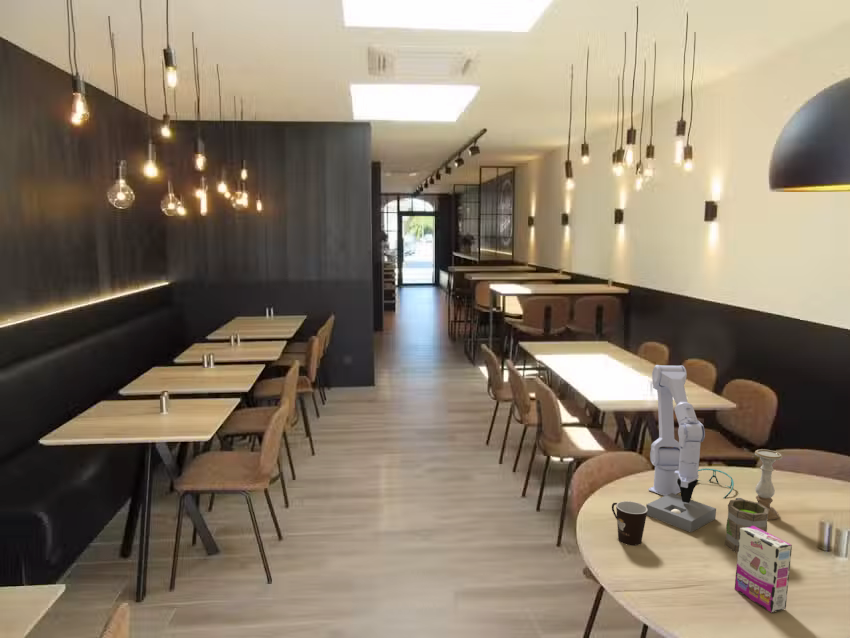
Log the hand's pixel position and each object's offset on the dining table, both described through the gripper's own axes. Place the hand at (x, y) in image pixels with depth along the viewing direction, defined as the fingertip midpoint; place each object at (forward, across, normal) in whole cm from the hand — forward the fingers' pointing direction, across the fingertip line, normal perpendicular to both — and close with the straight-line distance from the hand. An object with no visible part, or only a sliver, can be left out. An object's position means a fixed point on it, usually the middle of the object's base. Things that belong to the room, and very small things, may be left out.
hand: (686, 501), depth 201 cm
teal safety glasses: (+5, -28, +4) cm, 29 cm away
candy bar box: (+4, +41, +23) cm, 47 cm away
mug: (+4, +11, +17) cm, 21 cm away
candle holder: (+4, -14, +21) cm, 26 cm away
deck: (+4, +3, -1) cm, 5 cm away
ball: (+2, +6, -2) cm, 7 cm away
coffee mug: (+4, +26, -12) cm, 29 cm away
